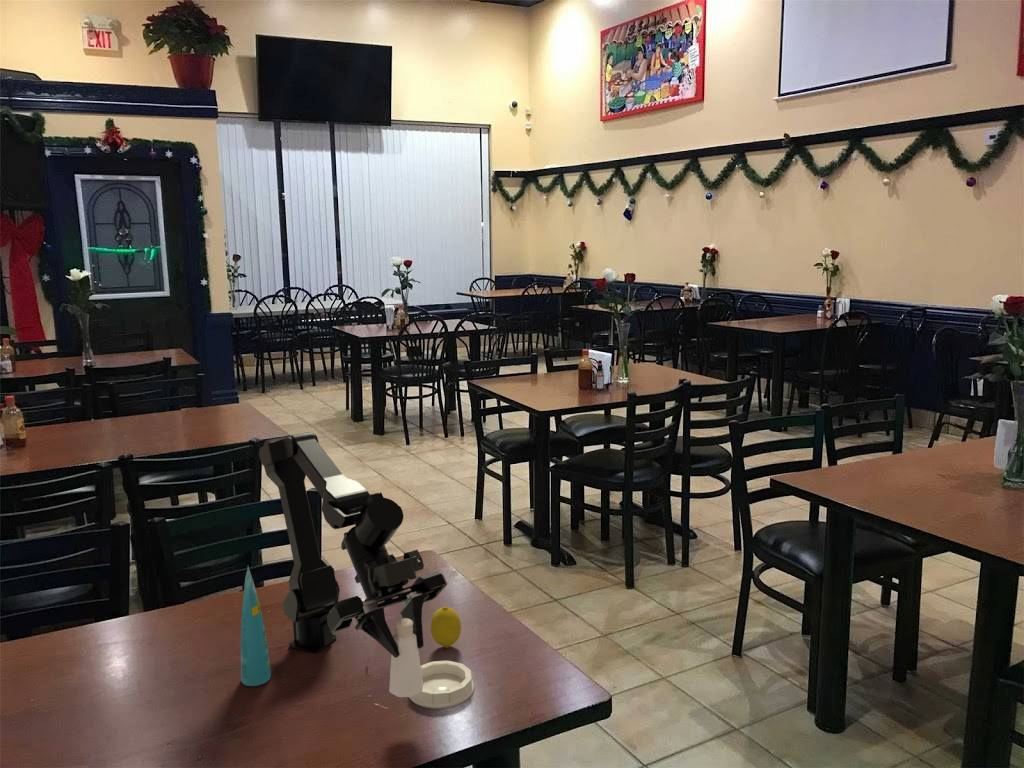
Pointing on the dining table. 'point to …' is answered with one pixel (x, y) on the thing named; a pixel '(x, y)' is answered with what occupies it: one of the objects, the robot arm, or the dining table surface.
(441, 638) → the lemon
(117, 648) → the dining table surface
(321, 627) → the robot arm
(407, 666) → the pepper shaker
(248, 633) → the tube
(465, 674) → the ring dish
